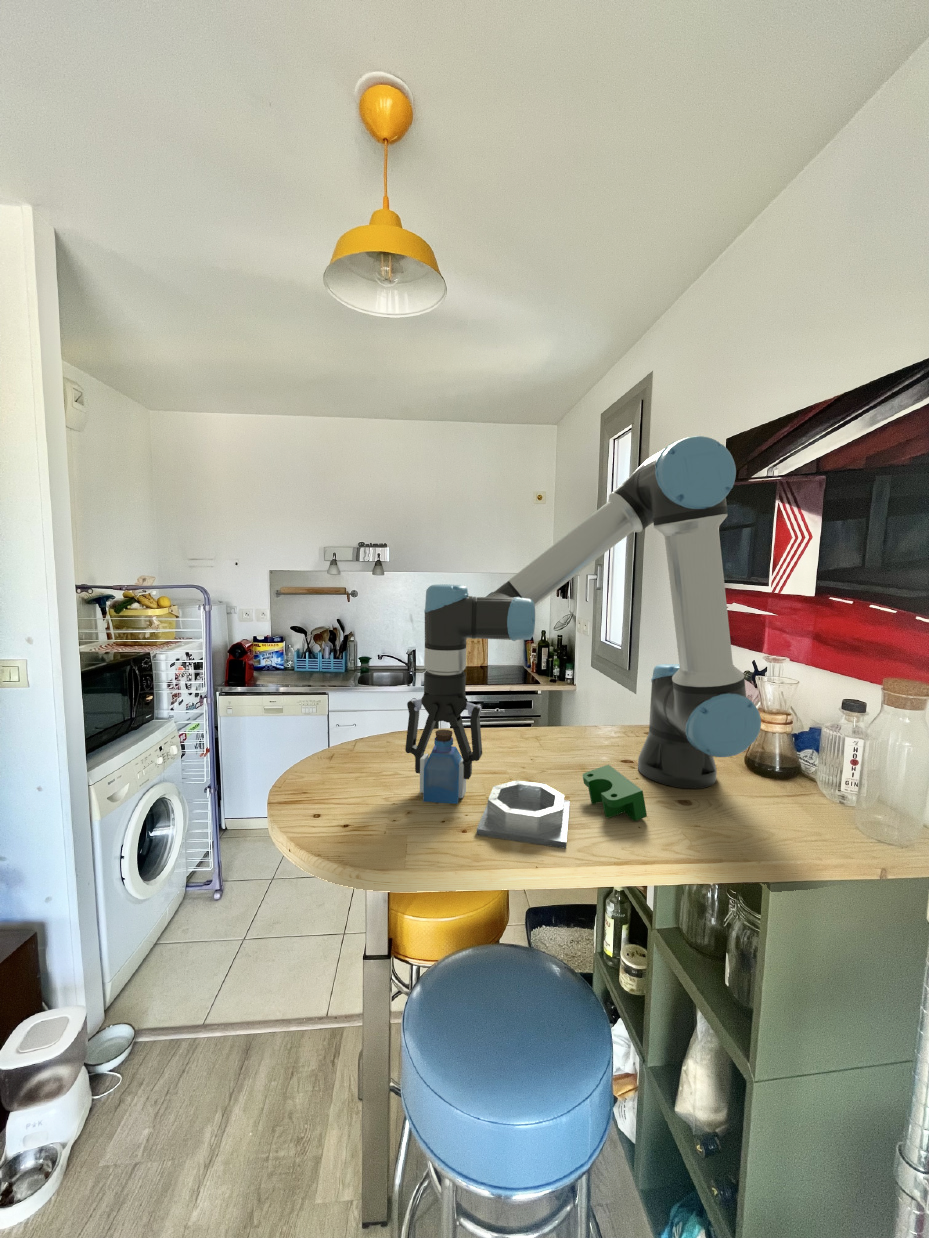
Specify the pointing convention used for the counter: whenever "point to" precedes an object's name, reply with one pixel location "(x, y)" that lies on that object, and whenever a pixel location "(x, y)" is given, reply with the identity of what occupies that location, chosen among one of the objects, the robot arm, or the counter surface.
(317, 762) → the counter surface
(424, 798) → the perfume bottle
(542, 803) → the flange
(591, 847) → the counter surface
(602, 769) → the clamp
